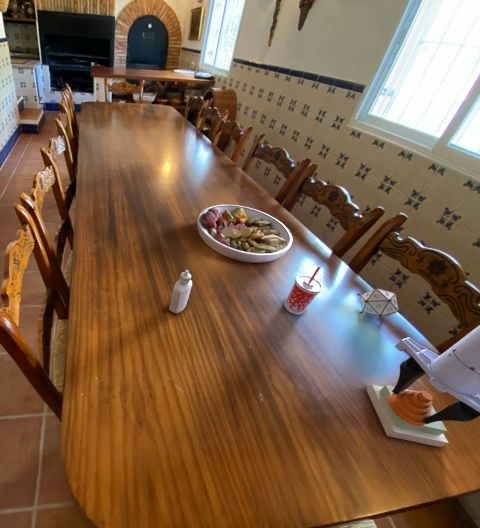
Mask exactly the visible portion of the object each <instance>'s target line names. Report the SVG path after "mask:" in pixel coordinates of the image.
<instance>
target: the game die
mask: <svg viewBox="0 0 480 528" xmlns="http://www.w3.org/2000/svg"><path fill="white" fill-rule="evenodd" d="M373 287H374V288H372V289H370V290H368V291H366V292H364V293H361V294H360V293H356V295H357V296H358V297H359V298H360V304H361V311H359V315H362V314H363V313H364V314H366V315H367V314H368V315H370V316H373V317H377V318H379V319H380V321H382V322H383V321H384V318H386V317H388V316H391V315H393V314H394V315H395V314H397V313H398V314H404V312H403V311H402V310H400V308H399V303H398V298H397V297H398V296H397V295H398V294H400V291H396V292H393V291H389V290H386V289H382V288H379V287H378V285H376V284H374V286H373Z"/></svg>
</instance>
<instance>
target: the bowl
mask: <svg viewBox="0 0 480 528" xmlns="http://www.w3.org/2000/svg"><path fill="white" fill-rule="evenodd" d="M196 224H197V225H196V226H197V230H198V234H199V236H200V238H201V240H203V242H204V243H205V244H206V245H207V246H208V247H210V248H211V249H212V250H214V251H215V252H217V253H219V254H221V255H222V256H224V257H227V258H229V259H233V260H236V261H239V262H245V263H255V264H256V263H268V262H272V261H275V260H277V259H279V258H281V257H283V256H284V255H285V254H286V253H287V252H288V251H289V250H290V248H291V246H292V243H293V236H292V233H291V232H290V230H289V228H287V227H286V226H285V225H284V224H283V222H281V221H280V220H278V219H277V218H276V217H273V216H271V215H270V214H268V213H266V212H263V211H261V210H258V209H255V208H251V207H248V206H243V205H237V204H218V205H213V206H210V207H207V208H205V209H203V210H202V211H201V212H200V213H199V214H198V218H197V223H196Z"/></svg>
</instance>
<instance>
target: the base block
mask: <svg viewBox="0 0 480 528" xmlns="http://www.w3.org/2000/svg"><path fill="white" fill-rule="evenodd" d="M383 387H384V386H382V385H381V386H380V385H376V384H371V385H369V386H368V387H367V388H366V389H365V390H366V393H367V395H368V397H369V399H370V401H371V403H372V406H373V408H374V410H375V413H376V415H377V417H378V419H379V422H380V423H381V426H382V428H383V430H384V432H385V434H386V436H387V437H391V438H396V439H400V440H404V441H410V442H414V443H420V444H425V445H428V446H433V447H438V448H442V447H444V446H445V445H447V444H449V441H448V439H447V438H446V436H445V433H443V434H441V435H434V434H430V433H425V432H420V431H415V430H410V429H406V428H401V427H397V425H396V423H395V421H394V419H393V417H392V415H391V413H390V411H389V409H388V406H387V404H386V402H385V400H384V398H383V396H382V394H381V392H380V390H381V389H382V388H383Z"/></svg>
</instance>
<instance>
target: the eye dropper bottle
mask: <svg viewBox="0 0 480 528" xmlns="http://www.w3.org/2000/svg"><path fill="white" fill-rule="evenodd" d="M191 279H192V275H191V274H190V271H189V270H188V269H185V270H184V271H182V272H181V273H180V275H179V279H177V281H176V283H175V284H174V286H173V289H172V293H171V298H170V302H169V307H168V311H170V312H171V313H174V314H179V313H181V312H183V311H184V310H185V308H186V306H187V303H188V301H189V297H190V293H191V290H192V286H193V281H192V280H191Z"/></svg>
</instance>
